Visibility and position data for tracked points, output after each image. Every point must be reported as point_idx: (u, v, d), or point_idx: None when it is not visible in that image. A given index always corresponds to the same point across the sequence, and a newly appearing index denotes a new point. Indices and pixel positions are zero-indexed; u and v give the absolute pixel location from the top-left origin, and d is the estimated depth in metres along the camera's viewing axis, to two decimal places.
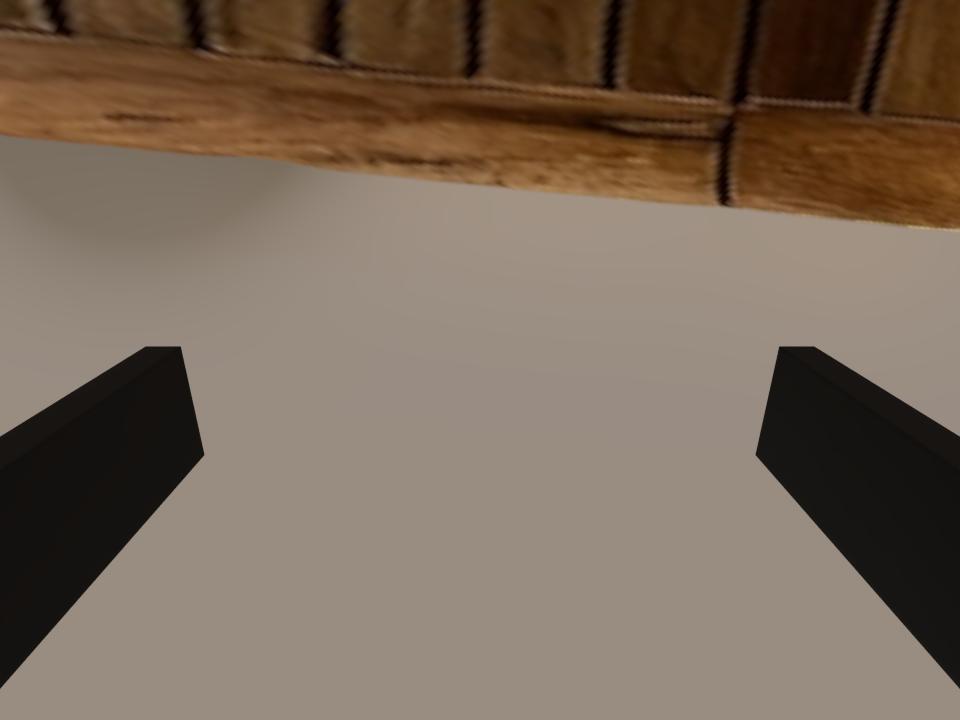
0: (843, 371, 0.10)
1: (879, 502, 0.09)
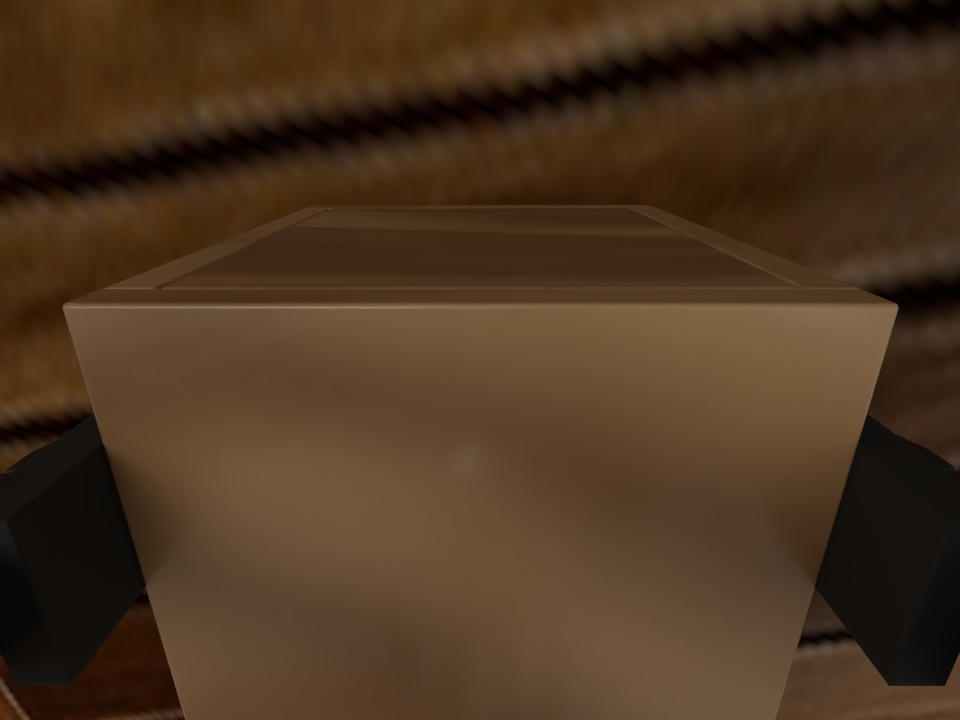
0: None
1: None
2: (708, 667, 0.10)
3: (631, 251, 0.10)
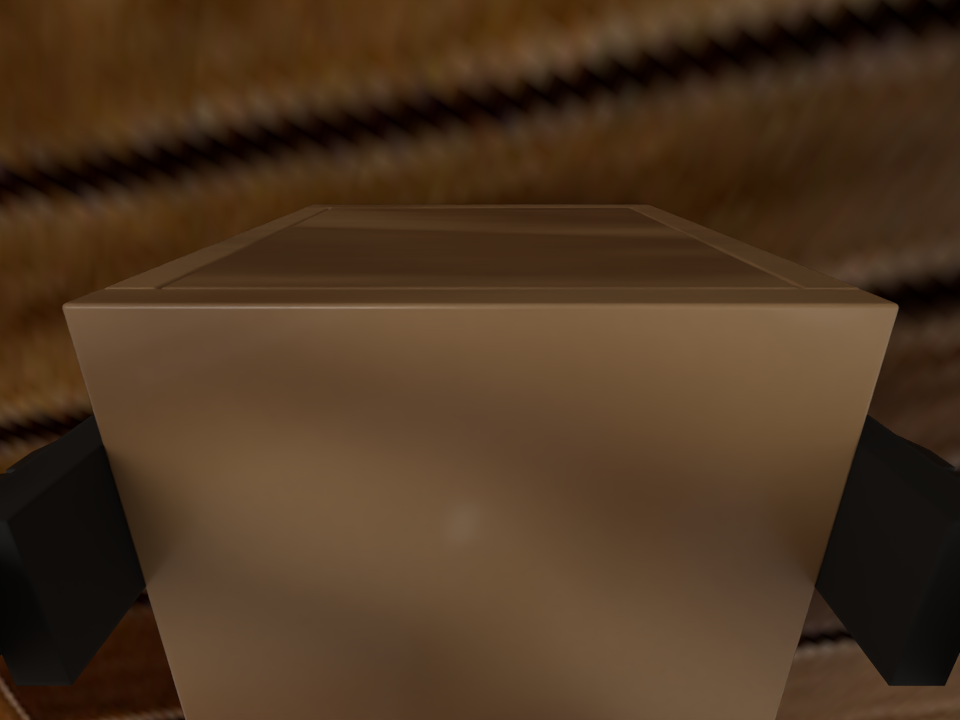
0: None
1: None
2: (708, 667, 0.10)
3: (631, 251, 0.10)
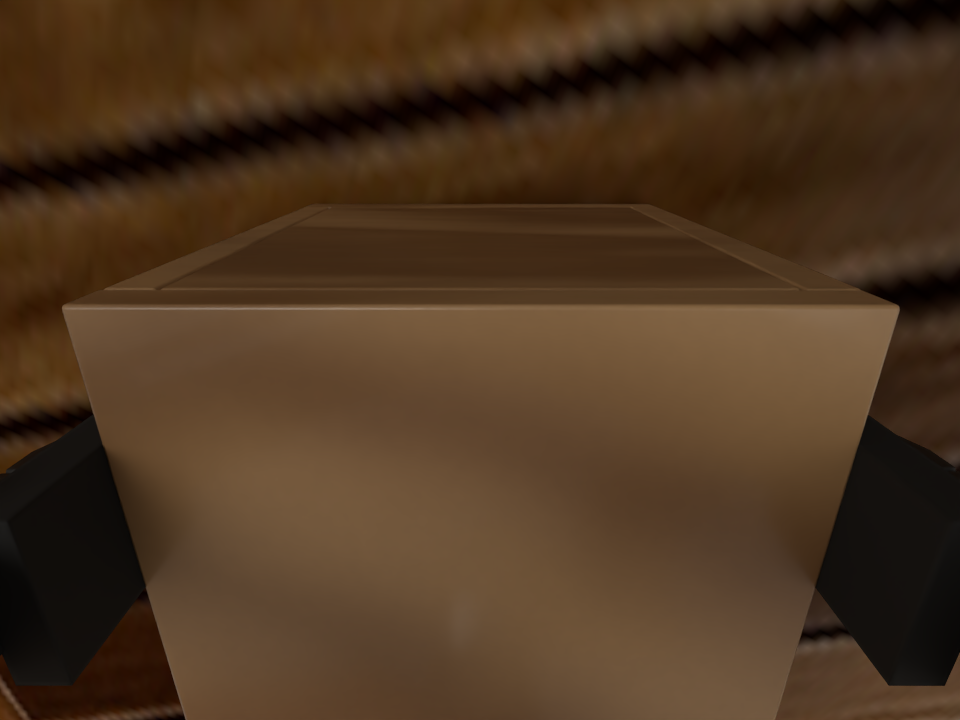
0: None
1: None
2: (708, 668, 0.10)
3: (632, 251, 0.10)
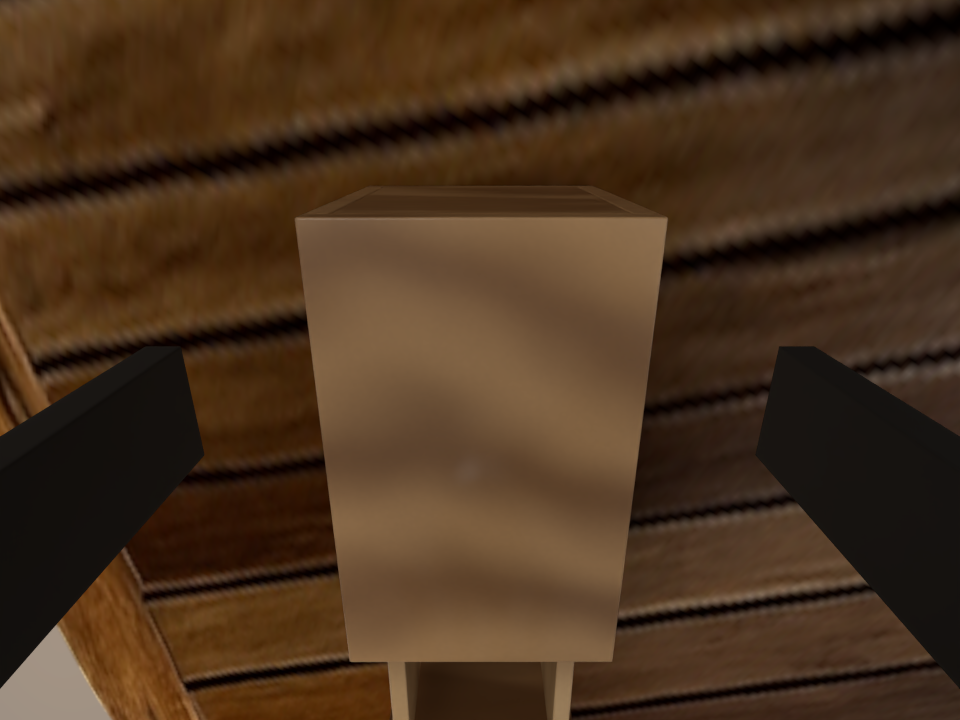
0: (843, 371, 0.10)
1: (879, 502, 0.09)
2: (599, 417, 0.19)
3: (562, 203, 0.19)
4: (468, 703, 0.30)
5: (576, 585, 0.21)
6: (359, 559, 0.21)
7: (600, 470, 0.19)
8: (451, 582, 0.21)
